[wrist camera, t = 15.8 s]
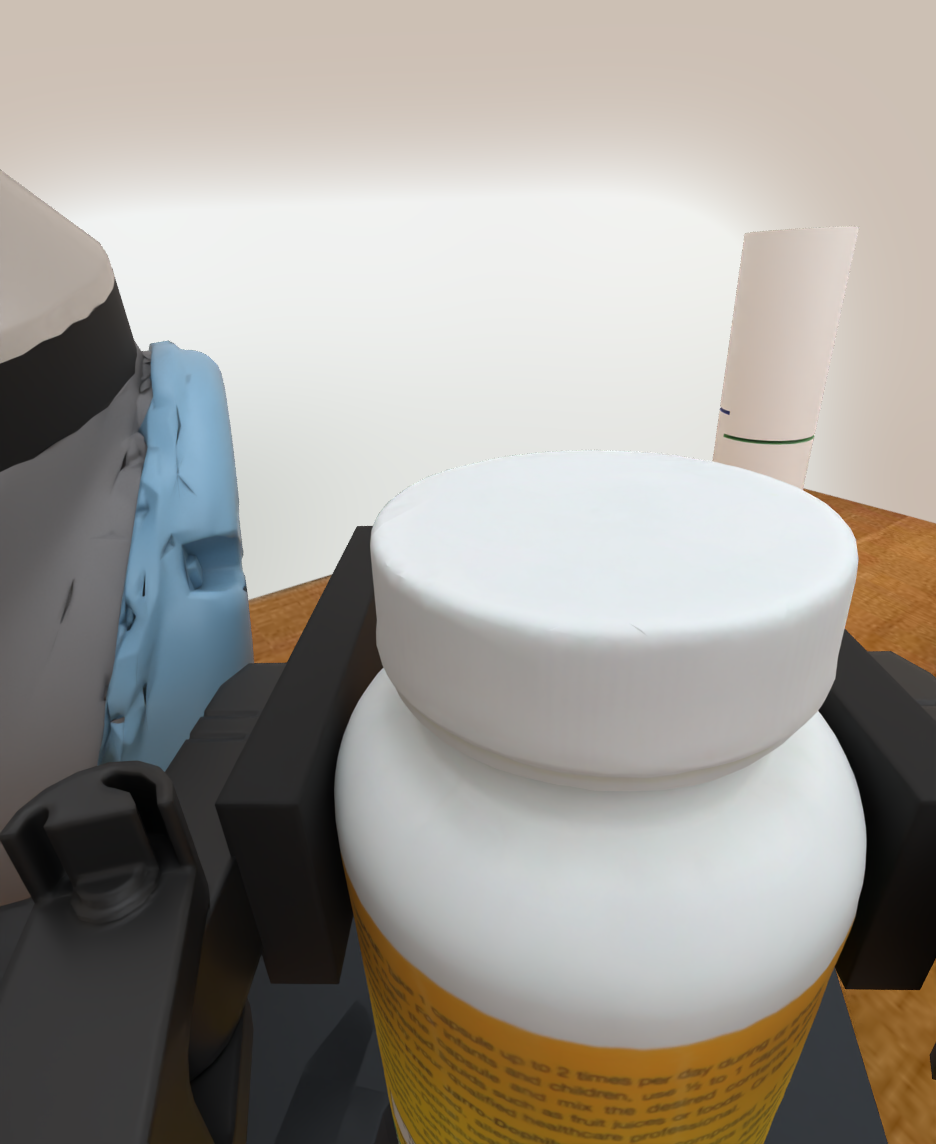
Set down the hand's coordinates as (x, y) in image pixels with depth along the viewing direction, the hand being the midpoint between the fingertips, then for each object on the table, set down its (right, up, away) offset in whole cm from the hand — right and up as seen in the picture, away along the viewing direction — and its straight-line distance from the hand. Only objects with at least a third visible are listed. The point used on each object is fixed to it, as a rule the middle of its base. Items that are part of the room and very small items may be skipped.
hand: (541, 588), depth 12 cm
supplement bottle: (0, -8, -2) cm, 8 cm away
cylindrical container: (+23, +2, +42) cm, 48 cm away
